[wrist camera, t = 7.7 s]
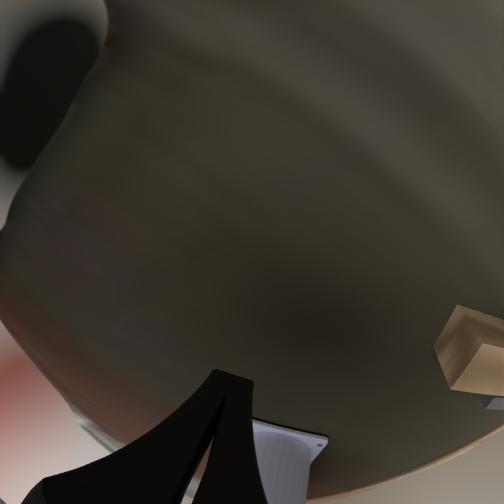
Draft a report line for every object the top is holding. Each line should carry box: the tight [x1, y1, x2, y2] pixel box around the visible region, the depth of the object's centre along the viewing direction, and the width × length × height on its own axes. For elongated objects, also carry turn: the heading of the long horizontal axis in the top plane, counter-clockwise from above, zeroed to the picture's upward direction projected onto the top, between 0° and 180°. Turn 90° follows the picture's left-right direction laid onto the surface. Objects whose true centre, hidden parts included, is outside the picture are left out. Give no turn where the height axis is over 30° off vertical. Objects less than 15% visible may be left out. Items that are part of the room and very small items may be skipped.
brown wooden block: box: [433, 304, 504, 396], centre depth 15 cm, size 4×10×4 cm, turn 76°
